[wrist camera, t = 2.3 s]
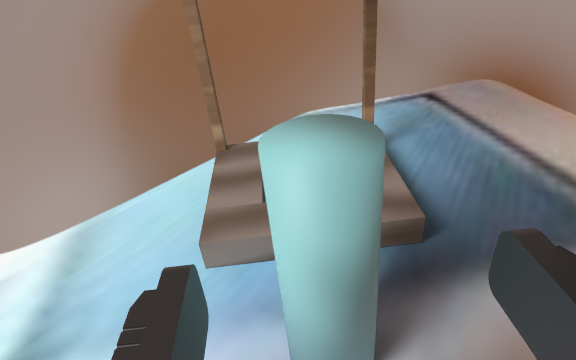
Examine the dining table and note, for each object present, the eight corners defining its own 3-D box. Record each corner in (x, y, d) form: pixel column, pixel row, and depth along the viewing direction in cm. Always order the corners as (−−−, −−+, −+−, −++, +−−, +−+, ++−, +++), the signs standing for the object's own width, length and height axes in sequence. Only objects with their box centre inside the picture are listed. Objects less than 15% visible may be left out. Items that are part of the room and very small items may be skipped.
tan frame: (422, 242, 29) (487, -257, 15) (205, 268, 29) (63, -211, 15) (369, 147, 43) (377, -160, 29) (222, 164, 43) (156, -136, 29)
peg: (388, 337, 23) (405, 126, 15) (349, 411, 19) (346, 187, 12) (318, 302, 25) (303, 107, 18) (273, 361, 22) (231, 153, 15)
